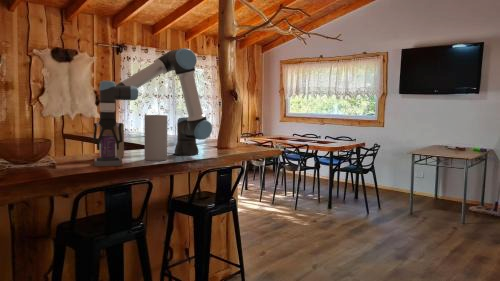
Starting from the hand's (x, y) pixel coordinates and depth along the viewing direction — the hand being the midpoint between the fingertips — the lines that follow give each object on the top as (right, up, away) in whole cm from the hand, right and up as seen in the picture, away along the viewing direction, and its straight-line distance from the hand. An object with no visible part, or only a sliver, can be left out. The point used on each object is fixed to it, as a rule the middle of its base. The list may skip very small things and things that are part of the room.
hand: (108, 156), depth 207 cm
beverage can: (0, -1, 0) cm, 1 cm away
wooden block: (-5, -2, +21) cm, 22 cm away
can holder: (0, -4, 0) cm, 4 cm away
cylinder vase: (+20, -3, +20) cm, 29 cm away
